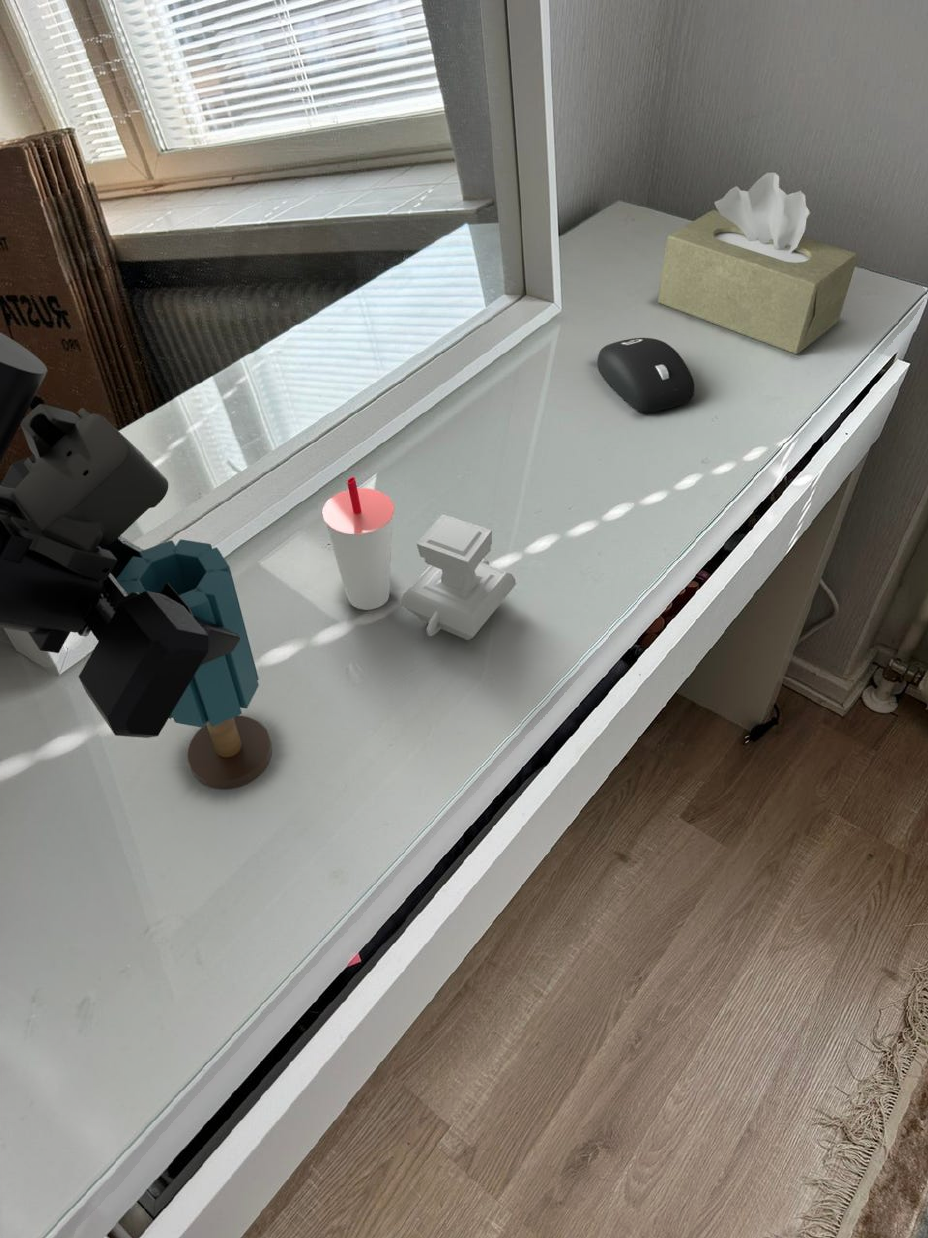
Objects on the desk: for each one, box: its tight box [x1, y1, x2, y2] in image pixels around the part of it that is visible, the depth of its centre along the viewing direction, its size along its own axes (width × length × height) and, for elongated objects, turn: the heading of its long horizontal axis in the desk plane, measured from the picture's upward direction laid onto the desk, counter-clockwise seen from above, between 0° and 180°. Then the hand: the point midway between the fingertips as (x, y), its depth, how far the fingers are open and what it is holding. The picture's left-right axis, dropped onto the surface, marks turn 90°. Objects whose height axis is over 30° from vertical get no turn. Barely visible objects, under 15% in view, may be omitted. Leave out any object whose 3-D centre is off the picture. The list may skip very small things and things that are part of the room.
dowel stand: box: [187, 715, 273, 790], centre depth 62 cm, size 6×6×6 cm
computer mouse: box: [596, 337, 695, 414], centre depth 95 cm, size 8×12×4 cm, turn 24°
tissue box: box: [657, 172, 859, 355], centre depth 101 cm, size 19×10×16 cm, turn 48°
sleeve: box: [116, 539, 260, 729], centre depth 55 cm, size 6×6×10 cm
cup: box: [321, 476, 395, 611], centre depth 70 cm, size 5×5×12 cm
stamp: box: [399, 513, 517, 641], centre depth 70 cm, size 9×7×8 cm
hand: (209, 613), depth 55 cm, fingers closed on sleeve, 6 cm apart
